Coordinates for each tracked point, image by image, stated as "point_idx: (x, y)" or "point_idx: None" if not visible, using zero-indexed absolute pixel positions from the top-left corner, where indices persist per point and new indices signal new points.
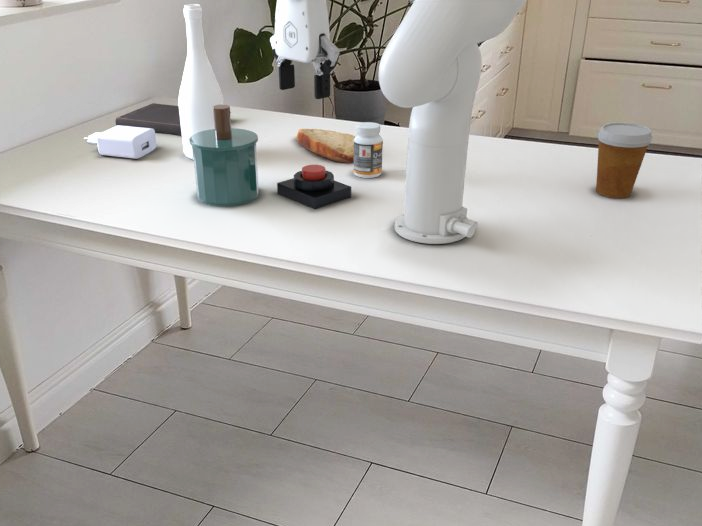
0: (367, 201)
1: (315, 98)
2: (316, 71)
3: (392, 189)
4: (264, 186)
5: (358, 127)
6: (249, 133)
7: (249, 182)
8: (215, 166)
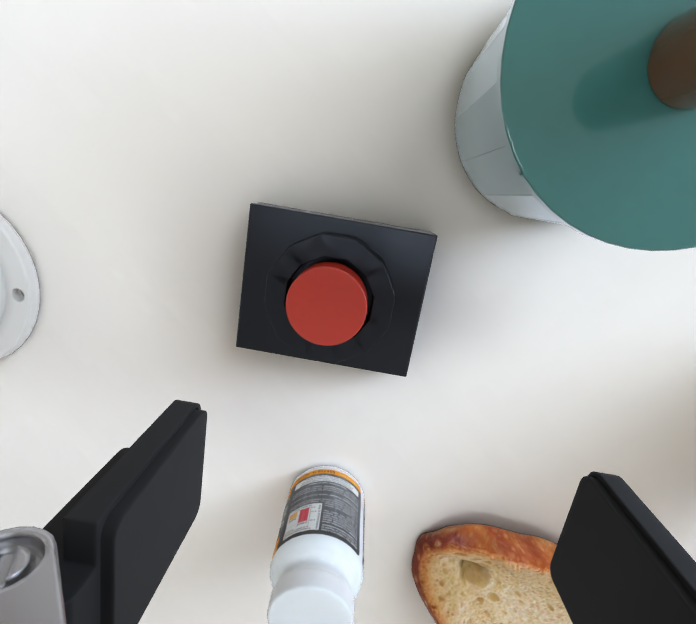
0: (197, 340)
1: (197, 403)
2: (42, 568)
3: (207, 444)
4: (509, 259)
5: (324, 588)
6: (610, 210)
7: (467, 109)
8: None
